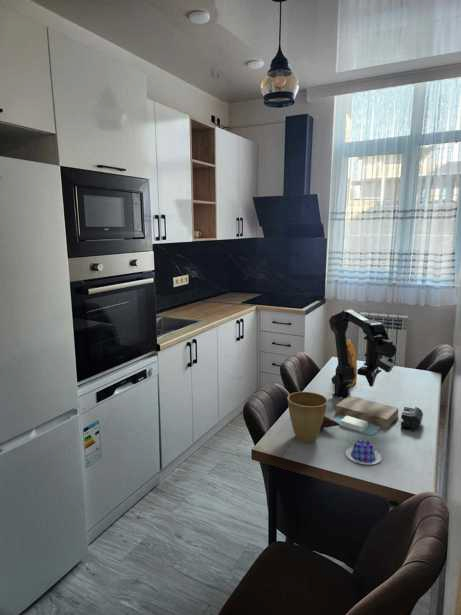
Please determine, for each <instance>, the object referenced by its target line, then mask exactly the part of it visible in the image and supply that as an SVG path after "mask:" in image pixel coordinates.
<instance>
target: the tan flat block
mask: <svg viewBox="0 0 461 615" xmlns="http://www.w3.org/2000/svg"><path fill="white" fill-rule="evenodd" d="M335 415H337V416H338V415H342V416H350V417H353V418H357V419H360V420H364V421H367V422H368V423H370V424H373V425H377V426H380V427H381V428H383V429H388V428H389V427H390V426H391V425H392V423H394V422H395V421H396V420H397V419H398V418H399V407H396V406H391V405H388V404H385V403H379V402H376V401H372V400H368V399H364V398H361V397H356V396H353V395H350V396H348V397H347V398H345V399H344V398H343V399H342V400H341V401H340V402H338V403H337V404H335Z"/></svg>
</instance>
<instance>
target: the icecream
mask: <svg viewBox="0 0 461 615" xmlns="http://www.w3.org/2000/svg"><path fill="white" fill-rule="evenodd" d="M338 425H340V424H339V423H337V422H335V421H334V420H333V419H331V418H330V417H328V416H327V415H325V416H324V419H323V422H322V425H321V428H320V430H319V431H324V429H326V428H331V427H337V426H338Z"/></svg>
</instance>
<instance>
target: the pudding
mask: <svg viewBox="0 0 461 615" xmlns="http://www.w3.org/2000/svg"><path fill="white" fill-rule="evenodd" d="M345 456H346V457H347V458H348V459H349V460H350V461H352V462H355V463H357V464H362V465H376V464H379V463H380V462H381V461H382V455H381V454H380V453H379V452H378V451H377V450H376V449H374V445H373V443H372V442H370V441H369V440H365V439H357V440H356V441H355V443H354V445H353V446H351V447H348V448H347V449H346V451H345Z"/></svg>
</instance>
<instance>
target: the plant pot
mask: <svg viewBox="0 0 461 615" xmlns="http://www.w3.org/2000/svg"><path fill="white" fill-rule="evenodd" d="M287 405H288V406H287V407H288V412H289V413H288V414H289V418H290V422H291V426H292V430H293V433H294V435H295V438H296V439H297V441H300V442H302V443H312V442H315V440H316V439H317V437H318V435H319V433H320V431H321V430H320V428H321V425H322V422H323V419H324V416H326V411H327V406H328V399H327V397H326V396H325V395H323V394H320V393H316V392H312V391H311V392H310V391H297V392H293V393H290V394H288V396H287Z"/></svg>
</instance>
